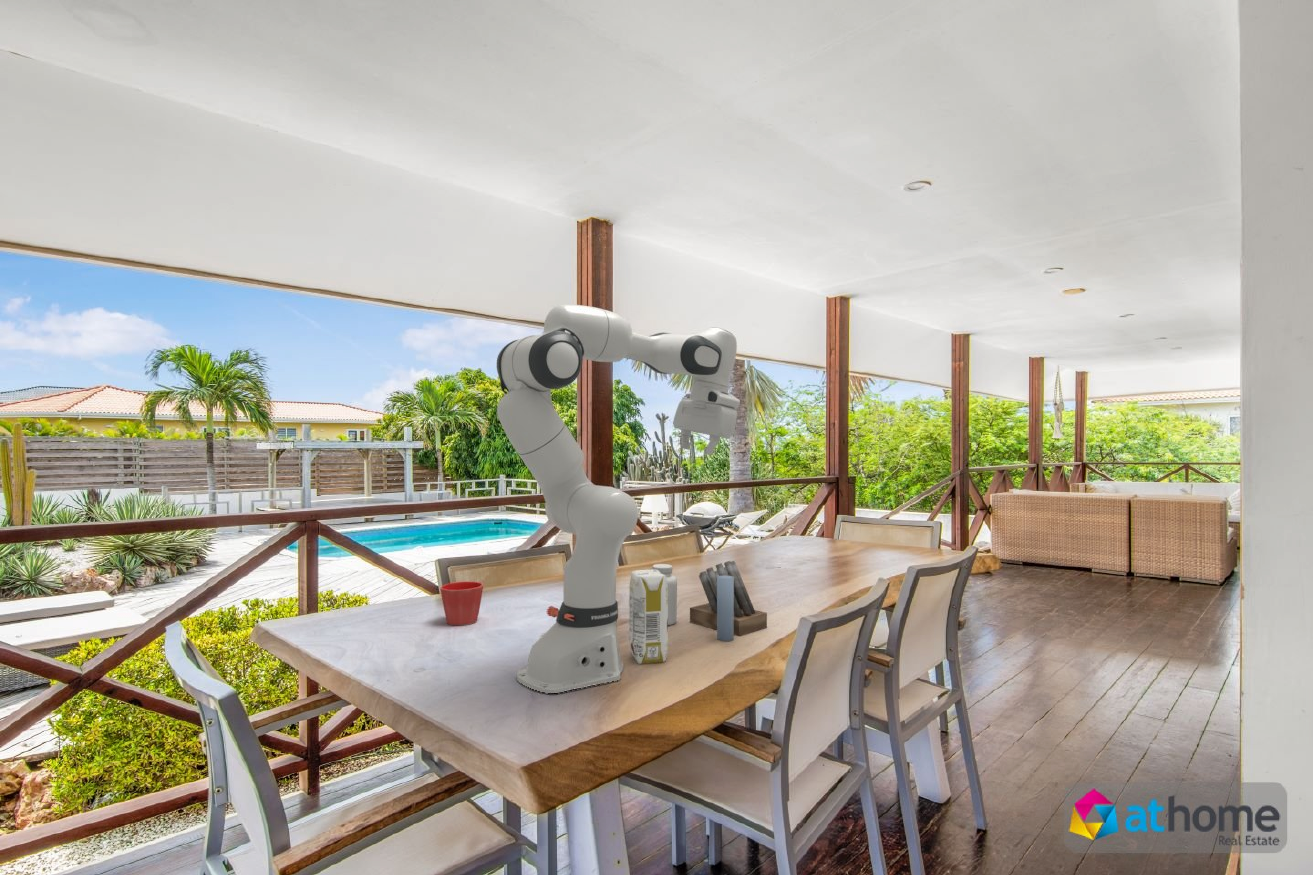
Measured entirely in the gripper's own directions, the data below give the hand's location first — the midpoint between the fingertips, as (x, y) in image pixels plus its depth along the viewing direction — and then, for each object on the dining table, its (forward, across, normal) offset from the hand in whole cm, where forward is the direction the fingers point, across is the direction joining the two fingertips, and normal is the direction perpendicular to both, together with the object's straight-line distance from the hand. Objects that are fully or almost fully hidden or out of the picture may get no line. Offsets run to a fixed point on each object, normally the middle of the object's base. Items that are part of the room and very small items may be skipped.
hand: (696, 451), depth 162 cm
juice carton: (+47, +11, -9) cm, 49 cm away
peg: (+43, +9, +14) cm, 46 cm away
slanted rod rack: (+43, 0, +23) cm, 49 cm away
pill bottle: (+47, -11, +10) cm, 49 cm away
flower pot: (+58, -40, -34) cm, 78 cm away
